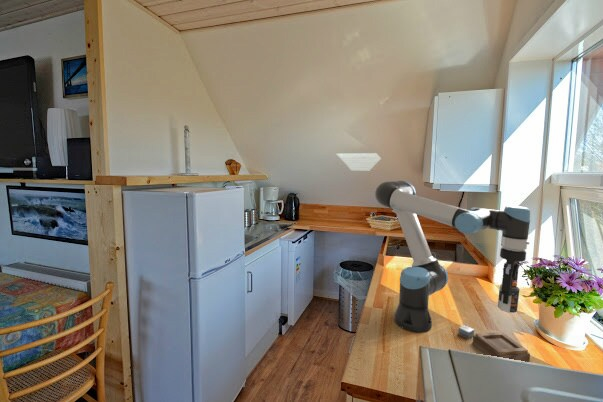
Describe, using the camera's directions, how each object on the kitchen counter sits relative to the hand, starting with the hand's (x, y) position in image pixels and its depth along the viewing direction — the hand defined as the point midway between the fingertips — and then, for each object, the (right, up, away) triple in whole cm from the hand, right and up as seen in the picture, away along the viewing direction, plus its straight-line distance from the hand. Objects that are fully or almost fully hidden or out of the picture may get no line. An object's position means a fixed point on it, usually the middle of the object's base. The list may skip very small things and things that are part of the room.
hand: (507, 308), depth 105 cm
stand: (-5, -15, -3) cm, 16 cm away
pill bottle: (0, -1, 0) cm, 1 cm away
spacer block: (-11, -14, +8) cm, 19 cm away
